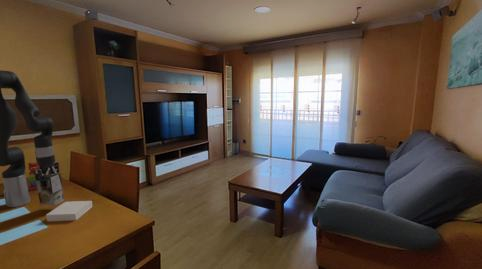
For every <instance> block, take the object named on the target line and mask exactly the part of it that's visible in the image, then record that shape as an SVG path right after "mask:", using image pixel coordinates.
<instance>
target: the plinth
mask: <svg viewBox="0 0 482 269" xmlns="http://www.w3.org/2000/svg"><path fill="white" fill-rule="evenodd" d="M92 207H93V201H92V200H79V201H78V200H77V201H65V202H64V201H63V202H62V204H61V203H60V205H58V206H56V207H55V208H54V209H52V210H51V211H50V212H48V213H46V215H45V217H46V218H45V219H46V222H65V221H70V222H71V221H77V220H78V219H80V217H82V216H83V215H84V214H85V213H87V212H88V211H89V210H90V209H91V208H92Z"/></svg>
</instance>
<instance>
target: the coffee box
mask: <svg viewBox="0 0 482 269" xmlns="http://www.w3.org/2000/svg"><path fill="white" fill-rule="evenodd" d="M43 177H44V176H43ZM43 177H42V178H43ZM38 178H39V177H38ZM36 184H37V194H38V200H39V205H40V206H54V207H55V206H57V205H59V204H61V203H64V201H65V195H64V190H63V188H64V187H63V183H62V174H61V172H59V173H49V174H48V176H46V184H47V187H41V183H40V181H36Z"/></svg>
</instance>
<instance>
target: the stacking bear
mask: <svg viewBox="0 0 482 269" xmlns="http://www.w3.org/2000/svg"><path fill="white" fill-rule="evenodd" d="M38 169H39V165H37V161H36V162H29V163H28V171H29V172H28V175H27V182H28V183H29V186H28V191H29V192H32V191H35V190H37V191H38V189H37V184H36V179H35V174H34V170H38ZM42 174H43V173H42Z"/></svg>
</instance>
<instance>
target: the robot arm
mask: <svg viewBox="0 0 482 269" xmlns="http://www.w3.org/2000/svg"><path fill="white" fill-rule="evenodd" d="M2 89H11V90H12V91H13V92H14V93H15V97H14V105H15V108H16V109H17V110H18V112H19V113H20V114H21V115H22V117H23V119H24V122H25V125H26V126H25V127H26V128H27V130H29V131H31V132H34V133H36V132H41V134H38V135H36V136H34V138H33V142H34V154H35V160H36V162H37V165H39V169H38V170H34V174H35V179H36V181H40V183H41V187H47V184H46V176H48V174H49V173H61V172H60V163H59V162H56V157H55V149H54V147H53V146H54V145H53V140H52V137H53V133H54V127H55V124H54V123H55V122H54V120H53V119H52V118H51V117H48V116H41V117H39V116H40V114H41V111H40V109H39V108H38V107H37V106H36V104H35V103H34V101H32V99H31V98H30V96H29V94H28V93H27V90H26V88H25V87H24V85H23V84H22V82H21V80H20V78H19V76H18V75H17V74H16V73H15V72H14V71H12V70H11V71H9V70H1V69H0V167H7V166H8V167H7V168H6V169H5V170H3V172H1V177H2V182H3V186H4V190H2V191H3V196H4V197H3V198H4V202H5V207H9V208H17V207H21V206H24V205H27V204H28V203H30V202H31V198H30V197H31V196H30V193H29V192H30V191H28V187H29V186H28V183H27V182H28V180H27V176H26V168H27V167H26V159H25V154H24V151H23V150H22V149H21V147H20V146H19V147H18V146H11V147H9V142H10V138H11V136H12V135H13V133H14V132H15V131H16V128H17V127H18V119H17V112H16V111H15V109H13V107H12V106H11V105H10V104H9V103H8V102H7V101H6V99H5V98H4V96H3V92H2ZM42 173H43V174H42ZM43 176H44V177H43ZM38 177H39V178H38ZM42 177H43V178H42Z"/></svg>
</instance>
